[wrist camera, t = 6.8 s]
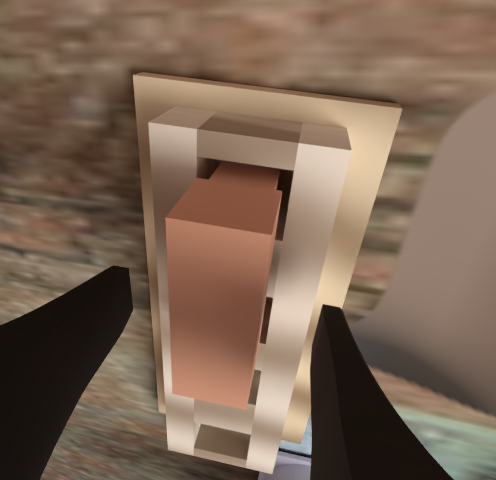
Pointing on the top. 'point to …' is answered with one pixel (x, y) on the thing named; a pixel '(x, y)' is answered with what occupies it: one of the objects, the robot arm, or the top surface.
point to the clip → (220, 280)
